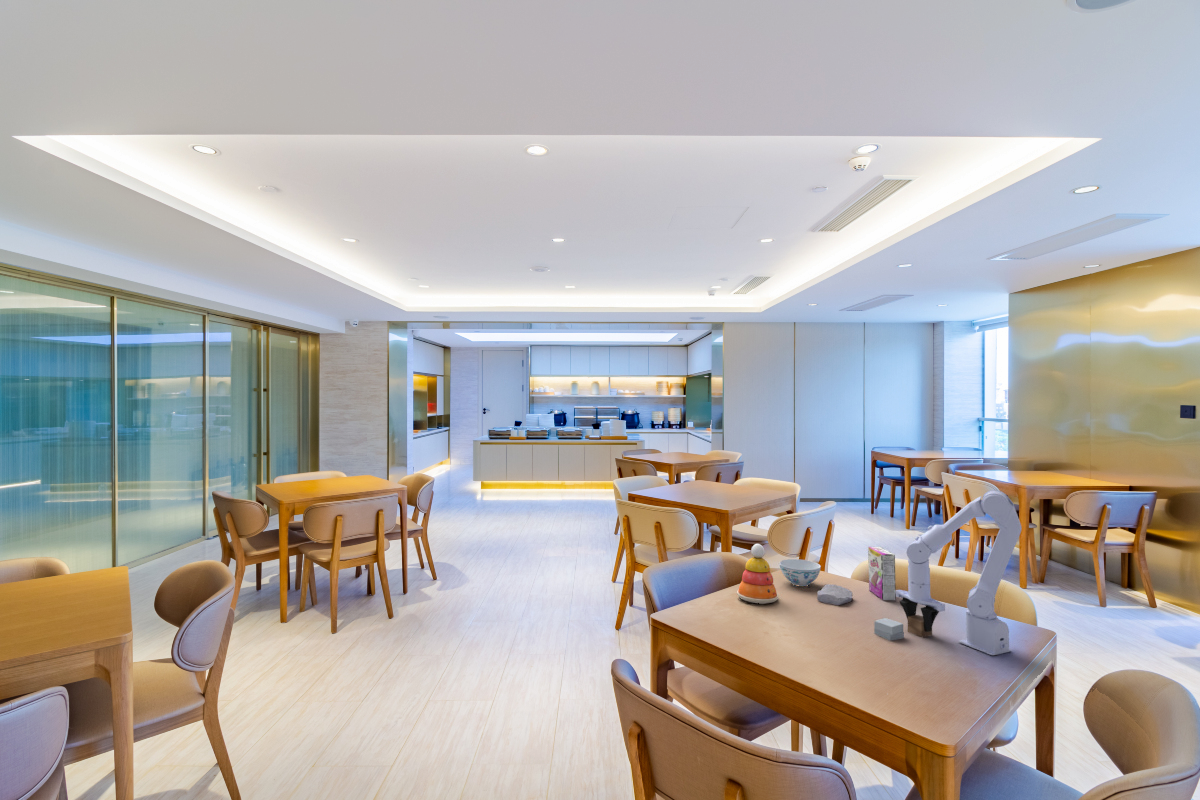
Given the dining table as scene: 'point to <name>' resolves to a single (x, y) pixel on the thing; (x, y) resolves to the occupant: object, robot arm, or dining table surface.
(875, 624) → the tower top
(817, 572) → the chinaware
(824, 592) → the stone block
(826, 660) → the dining table surface
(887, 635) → the tower base
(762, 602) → the stacking toy
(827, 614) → the dining table surface
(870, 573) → the candy bar box
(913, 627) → the walnut cube
